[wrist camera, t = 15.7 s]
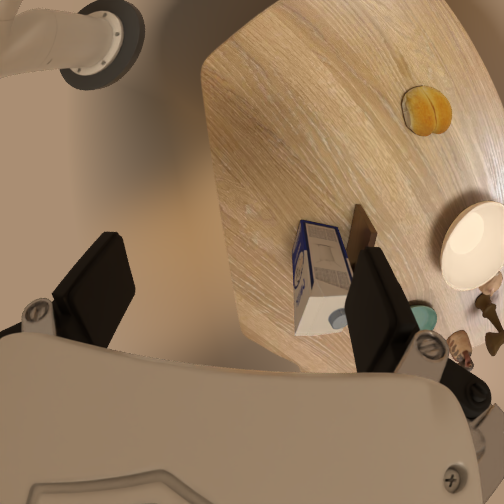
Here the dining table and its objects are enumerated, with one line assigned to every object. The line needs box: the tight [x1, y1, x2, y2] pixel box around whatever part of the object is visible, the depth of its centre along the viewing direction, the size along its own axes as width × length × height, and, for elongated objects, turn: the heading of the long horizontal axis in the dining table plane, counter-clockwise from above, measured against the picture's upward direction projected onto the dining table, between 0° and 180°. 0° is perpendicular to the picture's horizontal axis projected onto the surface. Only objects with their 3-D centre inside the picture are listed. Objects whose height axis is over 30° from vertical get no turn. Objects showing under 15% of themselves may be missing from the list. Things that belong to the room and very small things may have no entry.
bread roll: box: [402, 86, 452, 136], centre depth 33 cm, size 8×9×4 cm
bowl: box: [440, 201, 504, 291], centre depth 42 cm, size 20×20×7 cm
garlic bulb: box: [479, 271, 503, 297], centre depth 47 cm, size 7×6×8 cm
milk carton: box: [292, 220, 353, 336], centre depth 42 cm, size 7×7×20 cm
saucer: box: [410, 305, 437, 330], centre depth 58 cm, size 15×15×3 cm
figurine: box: [446, 331, 474, 372], centre depth 57 cm, size 7×7×12 cm
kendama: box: [475, 293, 504, 356], centre depth 46 cm, size 6×10×20 cm, turn 121°
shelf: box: [346, 204, 377, 274], centre depth 45 cm, size 10×13×10 cm
